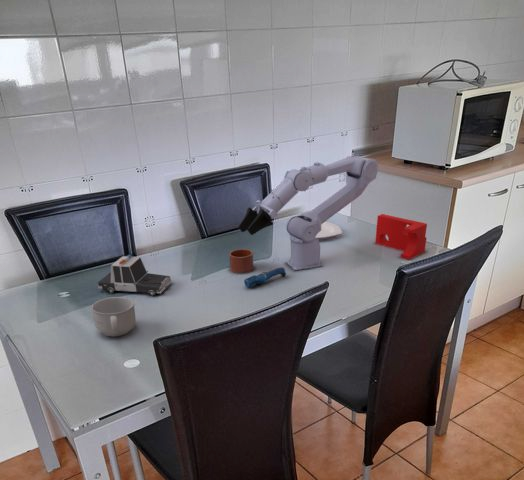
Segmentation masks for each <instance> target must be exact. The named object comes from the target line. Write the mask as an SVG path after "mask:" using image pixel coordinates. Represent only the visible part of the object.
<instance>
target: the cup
mask: <svg viewBox="0 0 524 480" xmlns="http://www.w3.org/2000/svg"><path fill="white" fill-rule="evenodd" d="M228 255H229V258H228V259H229V269H230V271H231V272H232V273H235V274H247V273H250V272H252V271H254V269H255V268H254V266H255V265H254V251H252V250H251V249H247V248H245V249H244V248H241V249H240V248H239V249H238V248H237V249H233V250H231V251H230V252H229V253H228Z"/></svg>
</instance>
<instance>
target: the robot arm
mask: <svg viewBox="0 0 524 480" xmlns="http://www.w3.org/2000/svg"><path fill="white" fill-rule="evenodd" d="M378 171H379V164H378V161H377V160H376V159H374V158H368V157H364V156H359V155H357V154H353V155H348V156H346V157H345V158H342V159H339V160H337V161H334V162H331V163H329V164H326V165H325V164H324V163H322V162H318V161H316V162H313V164H312V165H309V166H301V167H300V169H296V168H295V169H294V168H293V169H290V170H287V171H286V172H285V174H284V175H283V179H282V180H281V182H280V183H279V184H278V185H277V186H276V187H275V188H274V189H273V190H272V191H271V192H270V193H268V195H267V196H265V198H264V199H263V200H262V201H261V200H260V199H257V200H256V201H255V203H256V205H255V206H254V207H253V208H251V207H250V206H249V207H247V209H246V213H245V215H244V217H243V219H242V220H241V222H240V223H239V225H238V229H239V230H240V232H241V233H244V232H246V231H247V232H248V233H249V235H251V236H254V235H255V234H257V233H259V232H260V231H261V230H263V229H265V228H268V227H270V226H273V225H274V222H273V221H272V220H274V219H275V218H276V217H277V216H278V213H279V212H280V211H281V210H282V209H283V208H284V207H285V206H286V205H287V204H288V203H289V202H290V201H291V200H292V199H293V198H294V197H295V196H297V194H298V193H299V192H306V191H308V190H309V188H310V187H312V186H315V185H319V184H322V183H324V182H326V181H327V180H328V177H331V176H336V175H339V174H340V175H341V174H343V173H345V183H346V184H345V185H344V186H343V187H341V188H340V189H339V190H338V191H336V192H335V193H333V194H332V195H331V196H329V197H328V198H327V199H326V200H323V202H321V203H320V204H318V205H317V206H316V207H314V208H313V209H312V210H310V211H305V212H301V213H300V214H298V215H293V216H291V217H290V218H289V219H288V220H287V223H286V227H285V228H286V231H287V233H288V234H289V238H290V260H286V264H287V265H288V266H289V267H290V268H292V269H293V270H294V271H301V270H306V269H312V268H313V269H314V268H319V267H321V266H322V264H321V243H320V239H319V240H318V239H317V238H316V235H317V234H318V233H319V232H320V231H321V224H322V223H324V222H325V221H328V220H329V219H331V218H332V217H334V216H335V215H336V214H338V213H339V212H340V211H342V210H343V209H344V208H346V207H347V206H348V205H349V204H351V203H352V202H354V201H355V200H356V199H358V198H359V197H361V195H363V193H364V191H366V188H367V187H368V186H369V184H370V183H372V182H373V181H374V180H376V179H377V175H378Z"/></svg>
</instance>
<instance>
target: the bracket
mask: <svg viewBox="0 0 524 480" xmlns="http://www.w3.org/2000/svg"><path fill="white" fill-rule="evenodd" d="M376 218H377V219H376V228H375V229H376V230H375V242H374V243H375V244H376V245H379V246H384V247H388V248H392V249H396V250H399V251H403V252H402V253H401V254H400V259H405V260H412V259H413V258H415V257H417V256H419V255H421V254H422V253H425V252H426V246H427V237H426V234H427V228H428V223H426V222H421V221H417V220H412V219H407V218H403V217H398V216H394V215H388V214H385V213H381V214H379V215H377V217H376Z"/></svg>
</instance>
